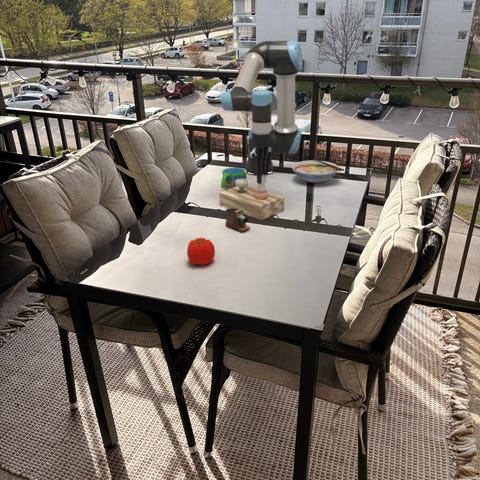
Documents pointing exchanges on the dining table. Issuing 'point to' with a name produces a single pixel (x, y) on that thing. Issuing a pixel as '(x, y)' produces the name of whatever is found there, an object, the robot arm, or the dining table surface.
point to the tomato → (200, 251)
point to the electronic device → (236, 220)
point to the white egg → (241, 184)
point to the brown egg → (260, 194)
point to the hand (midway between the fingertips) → (261, 190)
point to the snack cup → (232, 177)
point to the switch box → (252, 202)
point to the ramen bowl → (315, 170)
